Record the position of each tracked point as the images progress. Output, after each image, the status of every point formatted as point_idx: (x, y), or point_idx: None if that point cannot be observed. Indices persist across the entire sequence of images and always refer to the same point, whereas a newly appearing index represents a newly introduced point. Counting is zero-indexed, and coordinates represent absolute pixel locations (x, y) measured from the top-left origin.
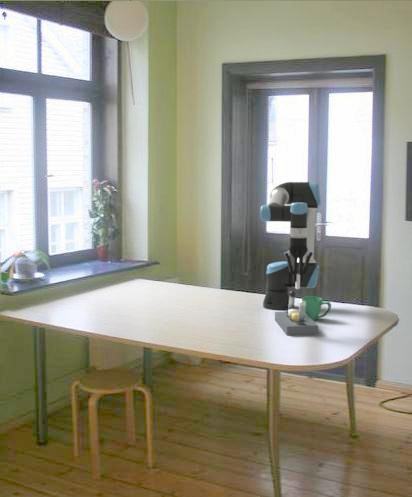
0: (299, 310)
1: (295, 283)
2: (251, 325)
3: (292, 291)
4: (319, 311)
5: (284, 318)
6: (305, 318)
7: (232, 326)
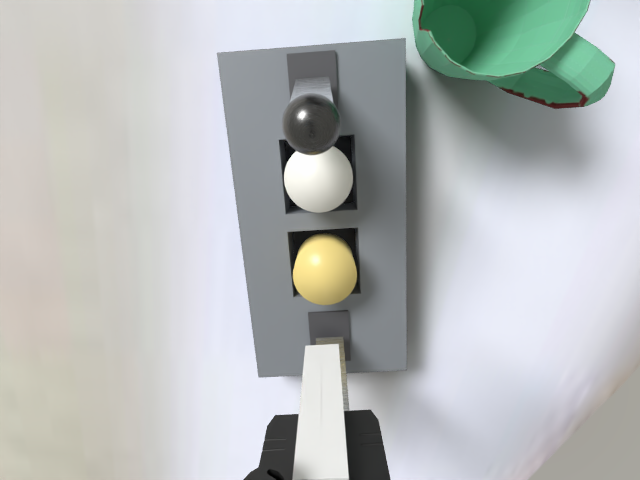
0: None
1: (302, 377)
2: (108, 178)
3: (309, 136)
4: (507, 49)
5: (261, 224)
6: (376, 229)
7: (17, 194)
